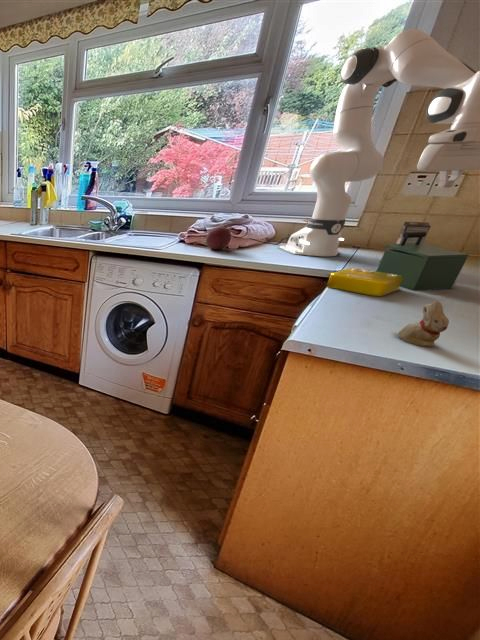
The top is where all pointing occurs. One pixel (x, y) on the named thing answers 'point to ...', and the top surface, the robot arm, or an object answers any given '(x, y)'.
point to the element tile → (365, 281)
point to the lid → (423, 247)
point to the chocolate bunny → (426, 326)
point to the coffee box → (413, 228)
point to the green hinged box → (421, 269)
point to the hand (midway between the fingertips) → (444, 186)
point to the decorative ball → (218, 238)
